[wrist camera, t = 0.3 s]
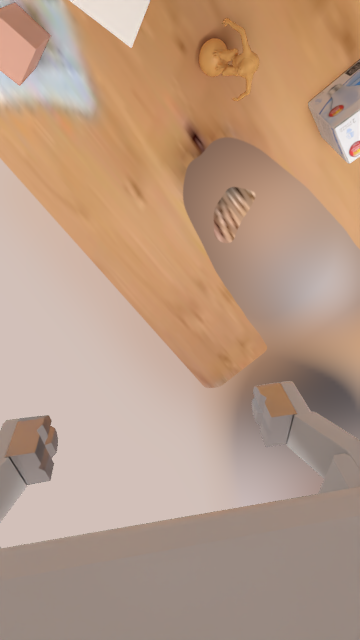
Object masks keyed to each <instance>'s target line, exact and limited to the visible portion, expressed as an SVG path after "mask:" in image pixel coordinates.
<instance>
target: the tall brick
mask: <svg viewBox="0 0 360 640" xmlns="http://www.w3.org/2000/svg"><path fill="white" fill-rule="evenodd" d="M50 36H51V35H49V34H48V33H47V32H46V31H45V30H44V29H43V28H42V27H41V26H40V25H39V24H38V23H37V22H36V21H34V20H33V19H32V18H31V17H30V16H29V15H28V14H27V13H26V12H25V11H24V10H23V9H22V8H21V7H20V6H18V5H17V4H16V3H13V4H10V5H8V6H5V7H2V8H0V71H2V72H3V73H4V74H5V75H7V76H8V77H9V78H10V79H12V80H13V81H14V82H15V83H17V84H18V85H19V86H20V85H21V84H22V83H23V82H24V81H25V80H26V78H27V77H28V76H29V75H30V74H31V73H32V72H33V71H34V70H35V69H36V67H37V64H38V62H39V60H40V58H41V56H42V54H43V51H44V49H45V47H46V45H47V43H48V40H49V38H50Z"/></svg>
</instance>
